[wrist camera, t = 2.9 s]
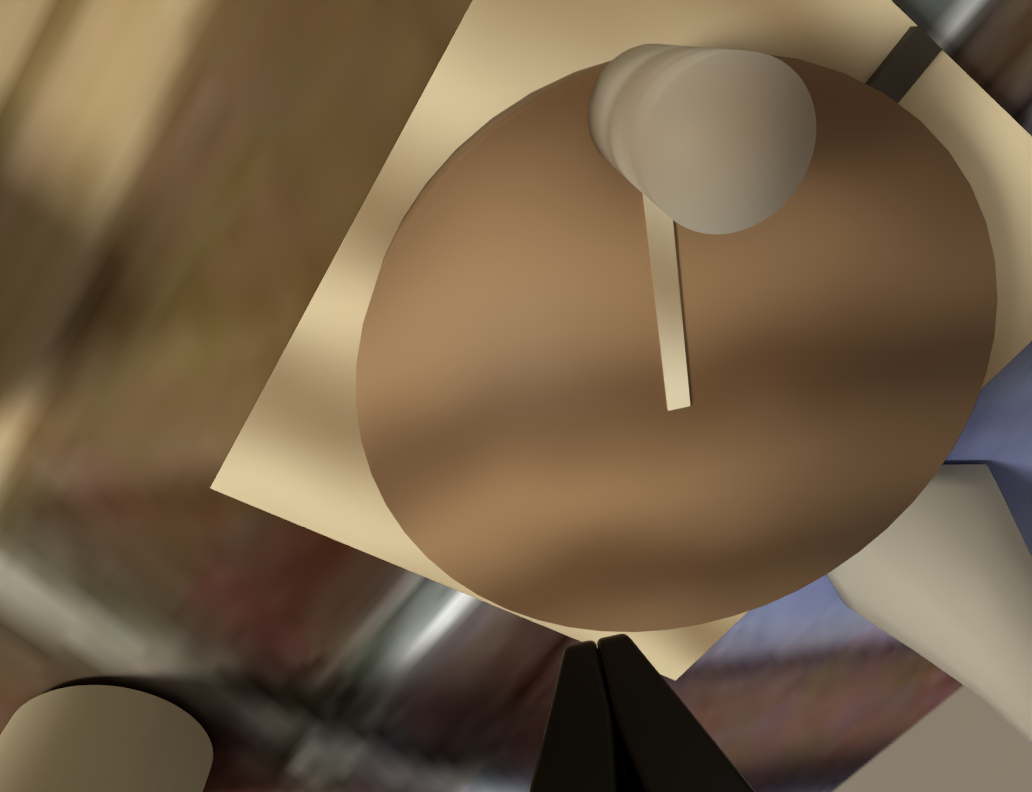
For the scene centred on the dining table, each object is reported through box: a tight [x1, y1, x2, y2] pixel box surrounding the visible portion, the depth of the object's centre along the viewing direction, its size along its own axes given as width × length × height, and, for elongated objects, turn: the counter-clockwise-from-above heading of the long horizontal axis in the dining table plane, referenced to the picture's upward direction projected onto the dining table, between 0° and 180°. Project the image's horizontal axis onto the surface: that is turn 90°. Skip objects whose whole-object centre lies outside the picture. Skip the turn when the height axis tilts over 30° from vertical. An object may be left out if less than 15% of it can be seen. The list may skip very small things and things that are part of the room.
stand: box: [211, 0, 1032, 680], centre depth 21 cm, size 21×19×2 cm
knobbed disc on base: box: [356, 44, 998, 632], centre depth 17 cm, size 17×17×7 cm
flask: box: [826, 464, 1032, 743], centre depth 22 cm, size 7×7×10 cm
